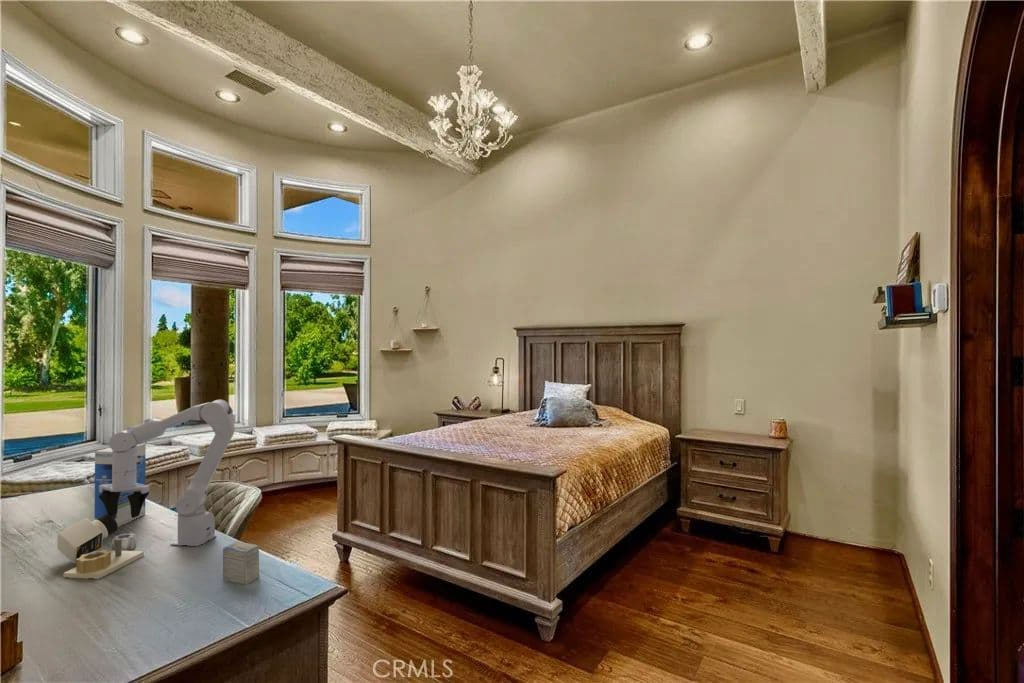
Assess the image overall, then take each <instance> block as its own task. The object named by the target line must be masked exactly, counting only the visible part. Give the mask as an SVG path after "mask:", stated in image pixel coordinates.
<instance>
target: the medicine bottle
mask: <svg viewBox="0 0 1024 683" xmlns="http://www.w3.org/2000/svg"><path fill="white" fill-rule="evenodd" d="M118 528H119V527H118V526H117V522H116V520H115V519H114V518H113V517H112V516H110V515H108V514H105V515H103V516H101V517H99V518H97V519H96V520H95V519H94V520H92V521H91V520H90V519H89V518H86V517H85V518H83V519H82V520H80V521H78V522H75V523H74V524H73V525H71V526H69V527H66V528H65V529H64V530H62V531H60V532H58V533H57V545H56V548H57V550H58V551H60V553H62V554H63V555H64V556H65V557H66V559H67V558H68V559H69V560H70V561H71V562H72V563H73V564H76V559H78V558H80V556H81V555H83V554H88V553H92V552H93V551H96V552H97V550H100V548H102V547H103V540H104V539H106V538H108V537H109V536H110V535H112V534H114V533H115V532H117V531H118Z"/></svg>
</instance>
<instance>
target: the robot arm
mask: <svg viewBox="0 0 1024 683" xmlns="http://www.w3.org/2000/svg"><path fill="white" fill-rule="evenodd" d="M233 413H234V411H233V409H232V407H231V405H230V403H229V402H228V401H226V400H224V399H221V398H220V399H215V400H213V401H211V402H210V401H209V402H205V403H201V404H196V405H193V406H192V407H189V408H187V409H184V410H182V411H180V412H177V413H176V414H173V415H170V416H169V417H166V418H164V419H159V418H155V417H154V418H146V419H144V420H143V422H141V423H139V424H137V425H134V426H132V425H129V426H128V427H126V429H124V430H122V431H118V432H116V433H114V434H113V435H112V436H111V437H110V438H109V441H108V446H109V448H111V449H112V450H113V452H112V484H103V485H100V486H99V492H103V493H102V494H100V495H99V498H100V499H101V501H102V502H103V504H104V505H105V508H106V510H107V513H108V515H110V516H114V515H117V510H118V500H119V496H120V493H121V492H134V494H131V495H128V496H127V497H128V499H129V502H130V506H131V517H132V518H135V517H137V516H139V515H140V511H141V508H142V505H143V503H144V501H145V502H146V498H147V497H148V496H149V494H150V485H149V484H145V485H143V484H138V483H136V461H137V454H136V446H137V445H138V444H142V443H145V444H146V442H149V441H152V440H155V439H157V438H160V437H161V436H164V434H165V432H166V430H168V429H169V428H172V427H175V426H177V425H180V424H183V423H186V422H188V421H191V420H194V421H195V420H196V421H201V420H203V421H204V422H205V423H206V424H207V425H209V426H210V427H211V430H212V431H213V433H214V436H213V438H212V440H211V442H210V444H209V446H208V448H207V450H206V452H205V454H204V456H203V459H202V461H201V462H200V464H199V466H198V468H197V470H196V472H195V474H194V476H193V478H192V480H191V482H190V483H189V485H188V486H187V488H186V489H185V492H184V493H183V494H182V495H181V496H180V497H179V498H178V499H177V500H176V502H175V506H174V507H175V510H176V512H177V539H176V540H174V541H172V542H170V544H169V545H170V546H182V545H187V547H188V546H189V547H200V546H202V545H203V544H205V543H206V541H207V542H208V540H209V541H210V540H212V539H214V538H216V537H217V534H216V532H215V531H216V528H215V527H216V525H215V524H216V519H215V515H214V513H213V512H209V511H207V510H206V507H205V505H204V503H205V502H206V501H207V498H208V489H209V487H210V483H211V481H212V479H213V476H214V474H215V472H216V470H217V469H218V467H219V464H220V462H221V461H222V459H223V457H224V454H225V453H226V451H227V448H228V446H229V444H230V443H231V440H232V438H233V436H234V434H235V431H236V430H235V422H234V417H233V416H234V415H233ZM201 544H202V545H201ZM199 545H200V546H199Z"/></svg>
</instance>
